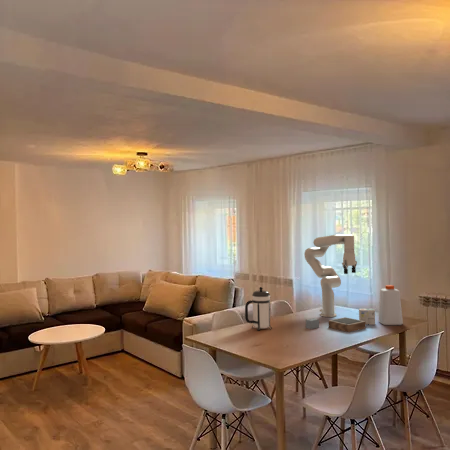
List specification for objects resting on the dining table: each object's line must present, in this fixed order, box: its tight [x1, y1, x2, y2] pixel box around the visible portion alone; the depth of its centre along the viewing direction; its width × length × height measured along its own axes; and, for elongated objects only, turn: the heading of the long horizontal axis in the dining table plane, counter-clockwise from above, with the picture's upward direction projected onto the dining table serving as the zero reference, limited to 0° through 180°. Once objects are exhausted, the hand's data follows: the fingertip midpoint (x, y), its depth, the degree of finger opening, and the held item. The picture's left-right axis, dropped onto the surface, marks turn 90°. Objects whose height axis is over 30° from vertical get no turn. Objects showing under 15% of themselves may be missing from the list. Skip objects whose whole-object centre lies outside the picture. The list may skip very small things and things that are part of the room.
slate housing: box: [305, 317, 320, 330], centre depth 320 cm, size 5×9×6 cm, turn 124°
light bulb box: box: [358, 308, 376, 326], centre depth 329 cm, size 11×7×11 cm, turn 84°
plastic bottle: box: [378, 284, 404, 326], centre depth 328 cm, size 15×15×28 cm
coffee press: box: [244, 287, 273, 332], centre depth 318 cm, size 17×16×30 cm
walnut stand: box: [328, 316, 366, 333], centre depth 317 cm, size 18×18×5 cm
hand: (349, 273), depth 340 cm, fingers open, 9 cm apart
